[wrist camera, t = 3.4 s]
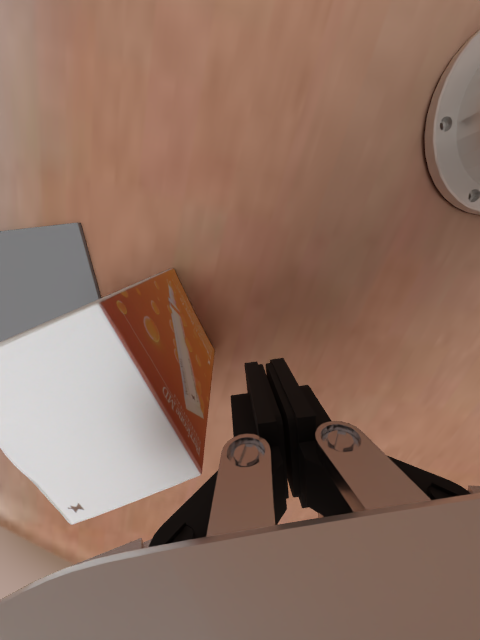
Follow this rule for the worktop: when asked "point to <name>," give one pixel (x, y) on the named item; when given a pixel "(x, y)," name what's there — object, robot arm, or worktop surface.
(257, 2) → the worktop surface
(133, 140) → the worktop surface
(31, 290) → the mat
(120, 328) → the small box
